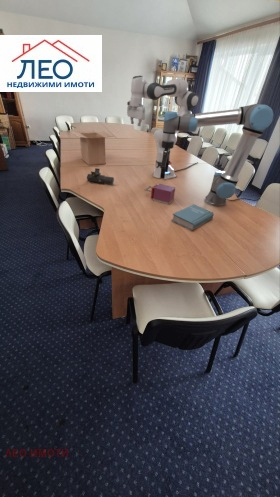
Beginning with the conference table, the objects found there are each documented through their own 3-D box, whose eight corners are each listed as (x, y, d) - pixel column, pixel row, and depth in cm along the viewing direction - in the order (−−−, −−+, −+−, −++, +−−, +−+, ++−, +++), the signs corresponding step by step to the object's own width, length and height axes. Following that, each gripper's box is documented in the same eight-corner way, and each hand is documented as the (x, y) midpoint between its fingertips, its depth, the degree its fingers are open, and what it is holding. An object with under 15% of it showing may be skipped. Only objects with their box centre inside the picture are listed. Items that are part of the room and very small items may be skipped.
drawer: (143, 196, 168) (144, 186, 163) (148, 192, 174) (149, 182, 170) (164, 201, 162) (166, 191, 157) (169, 197, 169) (170, 187, 164)
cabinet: (153, 200, 165) (154, 187, 159) (158, 195, 173) (159, 183, 167) (168, 204, 161) (170, 191, 155) (173, 199, 168) (175, 187, 163)
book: (192, 210, 154) (193, 204, 151) (212, 219, 146) (214, 212, 143) (171, 220, 141) (173, 213, 138) (192, 231, 132) (194, 224, 129)
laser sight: (111, 186, 182) (110, 174, 176) (85, 182, 185) (84, 170, 179) (114, 182, 190) (114, 170, 184) (89, 179, 192) (88, 167, 186)
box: (116, 165, 229) (116, 136, 213) (83, 168, 214) (80, 137, 198) (102, 154, 259) (101, 128, 243) (71, 156, 244) (68, 129, 228)
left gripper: (148, 105, 156) (146, 127, 164) (133, 102, 169) (132, 122, 177) (140, 104, 153) (139, 127, 161) (125, 102, 166) (125, 123, 175)
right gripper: (165, 136, 147) (161, 169, 159) (158, 143, 127) (154, 180, 140) (176, 138, 145) (171, 170, 158) (171, 145, 126) (166, 181, 138)
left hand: (135, 125), depth 169 cm, fingers open, 8 cm apart
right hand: (163, 175), depth 149 cm, fingers open, 13 cm apart
